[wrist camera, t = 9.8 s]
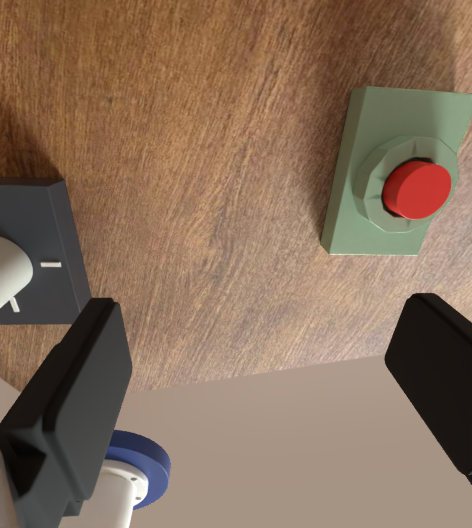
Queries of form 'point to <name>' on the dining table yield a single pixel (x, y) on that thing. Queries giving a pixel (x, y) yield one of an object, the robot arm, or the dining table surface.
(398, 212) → the button
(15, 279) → the lock knob
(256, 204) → the dining table surface
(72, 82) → the dining table surface
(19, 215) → the lock panel
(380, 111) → the button box
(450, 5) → the dining table surface
